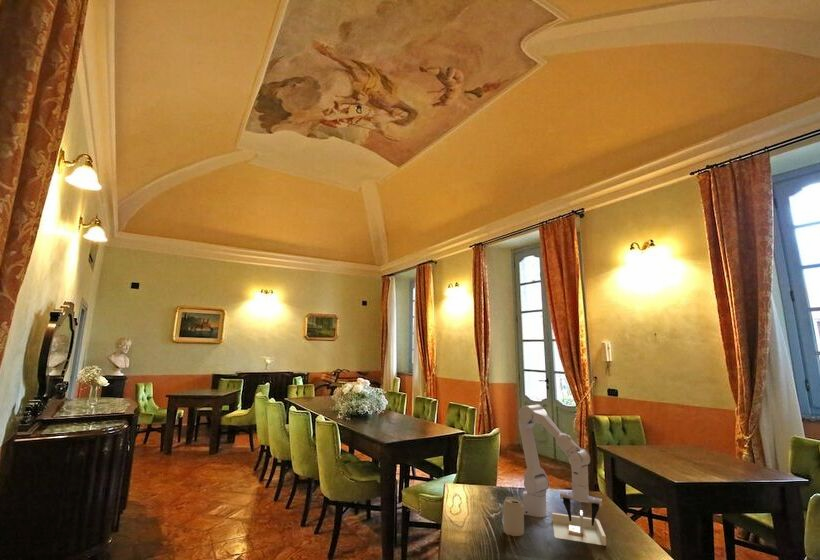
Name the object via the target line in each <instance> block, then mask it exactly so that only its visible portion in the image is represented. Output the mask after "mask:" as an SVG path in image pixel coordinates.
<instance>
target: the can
mask: <svg viewBox="0 0 820 560" xmlns="http://www.w3.org/2000/svg"><path fill="white" fill-rule="evenodd" d="M502 504H503V508H502V510H503V513H502V514H503V517H502V518H503V520H502V522H503V526H502V527H503V528H502V529H503V533H505V535H506V536H513V537H520V536H521V537H522V536H523V535H524V534H525V515H524V505H523V500H522V499H520V498H518V497H515V496H507V497H505V499H504V501H503V503H502Z"/></svg>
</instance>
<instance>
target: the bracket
mask: <svg viewBox="0 0 820 560" xmlns="http://www.w3.org/2000/svg"><path fill="white" fill-rule="evenodd" d="M579 516H580V527H578V526H573V525H569V533H570V534H575V535H580V536H584V529H583V517H584V510H582V509H579Z"/></svg>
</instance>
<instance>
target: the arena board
mask: <svg viewBox="0 0 820 560" xmlns="http://www.w3.org/2000/svg"><path fill="white" fill-rule="evenodd" d="M573 526H576V525H573ZM578 527H580V526H578ZM552 529H553V535H554V538H555V539H561V540H569V541H574V542H581V543H586V544H592V545H593V544H594V545H599V546H603V545H602V542H601V540H600V537H599V535H598V532H597V530H596V528H589V527H583V529H584V536H580V535H575V534H570V533H569V524H562V523H556V522H552Z"/></svg>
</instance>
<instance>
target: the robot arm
mask: <svg viewBox="0 0 820 560" xmlns="http://www.w3.org/2000/svg"><path fill="white" fill-rule="evenodd" d="M517 412H518V418H519V419H518V428H519V430H518V431H519V434H520V439H521V444H522V445H521V446H522V449H523V454H524V460H525V464H526V470H525V471H524V473H523V477H524V479H523V480H524V481H523V486H524V487H523V488H524V489H525V490H524V491H523V492H522V504H523V505H524V516H532V517H535V518H545V517H546V516H547V490H549V488H550V480H549V478H548V476H547V474H546V471H545V470H544V469H543V468H542V467H541V463H540V459H539V453H538V449H537V444H536V440H535V435H534V431H533V428H534V427H535V425H536V424H539V425H542V426H543V427H544V429H545V430H546V431H547V432H548V433H550V434H551V435H552V436H553V438H555V444H556V445H557V446H558V448H560V450H562V452H563V453H564V454H565V455H566V457H567V460H568V462H569V465H570V469H571V489H572V490H571V491H572V492H565V491H560V492H559V499H560V500H562V502H563V503H562V504H563V505H564V508H565V510H566V512H567V515H568V516H569V521H571V515H572V511H571V509H572V508H571V501H574V502H580V503H584V504H585V503H586V504H591V518H592V526H594V520H595V519H596V516H597V514H598V511H599V510H600V507H603V499H602V498H598V497H594V496H592V495H589V494H590V493H589V491H590V490H589V467H588V466H589V465H590V463H591V456H590V453H589V452H588V451H587V450H586V449H584V448H581V447H580V446H579V445H577V443H576V442H575V441H574V440H573V439H572V436H571V435H569V434H567V433H563V432H562V431H561V430H560V429H559V427H558V426H557V425H556V423H554V421H553V420H552V419H551V418H550V416H549V415H548V413H547V410H546V409H544V407H543V406H542V405H541V404H538V403H537V404H530V405H529V404H528V405H523V406H521V407H520V408H519V410H518V411H517Z"/></svg>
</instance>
